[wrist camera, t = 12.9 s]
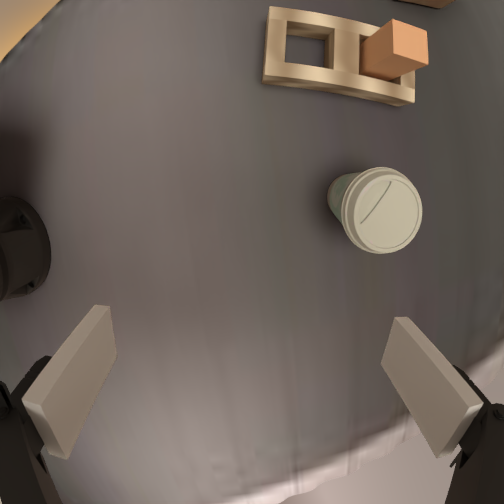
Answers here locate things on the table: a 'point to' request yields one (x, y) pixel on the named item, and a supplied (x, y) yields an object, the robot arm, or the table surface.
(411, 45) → the peg
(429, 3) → the block
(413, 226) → the coffee cup
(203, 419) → the table surface
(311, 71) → the socket block
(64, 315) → the table surface
